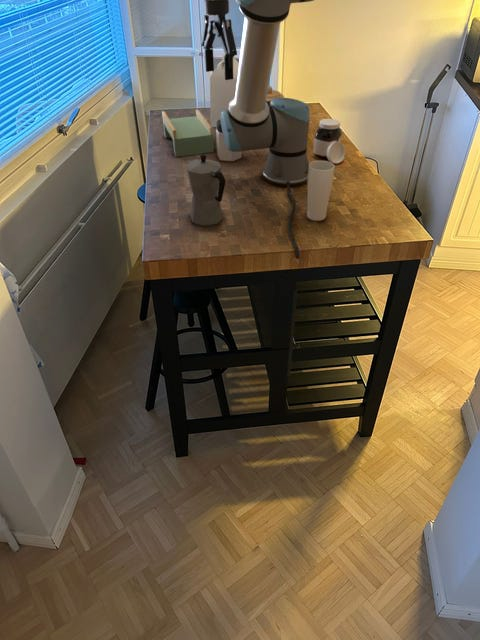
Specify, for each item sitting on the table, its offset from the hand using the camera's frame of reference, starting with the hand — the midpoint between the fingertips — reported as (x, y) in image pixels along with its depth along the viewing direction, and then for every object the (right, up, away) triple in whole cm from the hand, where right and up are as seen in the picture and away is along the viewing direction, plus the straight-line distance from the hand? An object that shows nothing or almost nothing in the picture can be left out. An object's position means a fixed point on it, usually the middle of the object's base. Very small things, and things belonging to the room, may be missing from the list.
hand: (219, 75), depth 158 cm
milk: (+3, -1, +36) cm, 36 cm away
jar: (+3, -24, +9) cm, 26 cm away
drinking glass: (+28, -53, -25) cm, 65 cm away
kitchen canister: (+18, -11, +25) cm, 32 cm away
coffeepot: (-2, -54, -26) cm, 60 cm away
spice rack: (-12, -16, +19) cm, 28 cm away
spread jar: (+38, -25, +7) cm, 46 cm away
